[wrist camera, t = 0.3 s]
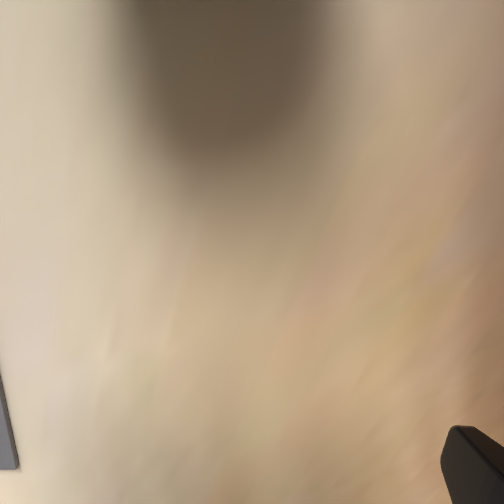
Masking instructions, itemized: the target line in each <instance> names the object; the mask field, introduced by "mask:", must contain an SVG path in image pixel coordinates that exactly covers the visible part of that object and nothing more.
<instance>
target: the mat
mask: <svg viewBox="0 0 504 504" xmlns="http://www.w3.org/2000/svg"><path fill="white" fill-rule="evenodd" d="M18 465H19V462H18V457H17V452H16V448H15V443H14V438H13V434H12V429H11V424H10V420H9V415H8V410H7V406H6V401H5V396H4V392H3V387H2V382H1V378H0V470H15V469H17V467H18Z"/></svg>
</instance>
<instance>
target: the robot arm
mask: <svg viewBox="0 0 504 504" xmlns="http://www.w3.org/2000/svg"><path fill="white" fill-rule="evenodd" d="M440 463H441V469H442V473H443V476H444V479H445V482H446V485H447V488H448V491H449V494H450V497H451V500H452V503H453V504H504V447H503V446H501V445H500V444H498V443H497V442H495V441H494V440H493V439H491V438H490V437H488V436H487V435H485V434H484V433H482V432H481V431H480V430H478V429H477V428H475V427H472V426H460V425H455V426H452V427H451V428H450V430H449V432H448V436H447V439H446V442H445V445H444V448H443V451H442V454H441V460H440Z"/></svg>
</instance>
